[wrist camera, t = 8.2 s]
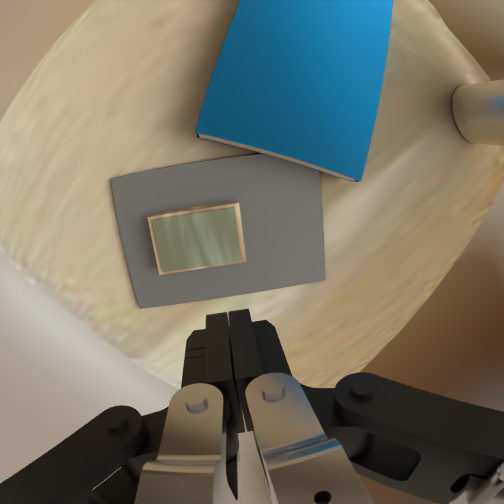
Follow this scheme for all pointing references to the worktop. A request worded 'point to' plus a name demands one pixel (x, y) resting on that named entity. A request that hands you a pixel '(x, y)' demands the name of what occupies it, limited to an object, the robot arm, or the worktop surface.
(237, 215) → the tile
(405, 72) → the worktop surface
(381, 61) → the book
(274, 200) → the mat
